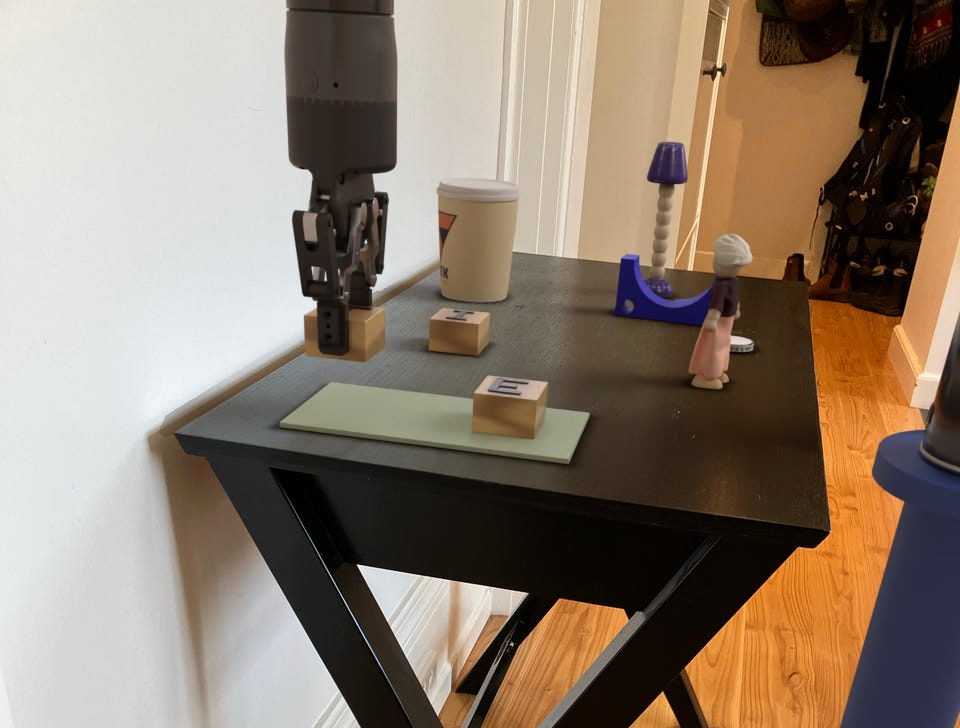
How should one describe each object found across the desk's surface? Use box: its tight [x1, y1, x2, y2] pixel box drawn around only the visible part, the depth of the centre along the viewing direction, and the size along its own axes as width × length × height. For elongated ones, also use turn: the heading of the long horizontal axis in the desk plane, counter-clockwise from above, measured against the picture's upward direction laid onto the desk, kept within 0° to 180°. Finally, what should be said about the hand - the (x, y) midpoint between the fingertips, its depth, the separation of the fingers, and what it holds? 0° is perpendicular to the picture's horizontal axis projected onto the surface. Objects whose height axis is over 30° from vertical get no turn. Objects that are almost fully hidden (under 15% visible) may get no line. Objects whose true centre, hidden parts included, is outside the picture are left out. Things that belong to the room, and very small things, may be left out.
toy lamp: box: [643, 141, 689, 299], centre depth 118 cm, size 5×5×17 cm
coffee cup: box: [436, 177, 522, 304], centre depth 114 cm, size 9×9×12 cm
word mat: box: [279, 381, 591, 465], centre depth 78 cm, size 22×11×1 cm, turn 77°
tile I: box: [428, 307, 491, 357], centre depth 97 cm, size 5×5×3 cm
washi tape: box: [730, 335, 755, 353], centre depth 102 cm, size 4×4×1 cm
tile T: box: [303, 304, 386, 364], centre depth 76 cm, size 5×5×3 cm
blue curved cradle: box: [614, 253, 718, 327], centre depth 111 cm, size 12×4×6 cm, turn 72°
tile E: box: [472, 374, 549, 439], centre depth 76 cm, size 5×5×3 cm
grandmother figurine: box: [688, 233, 753, 390], centre depth 87 cm, size 8×4×13 cm, turn 162°
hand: (346, 344), depth 77 cm, fingers closed on tile T, 4 cm apart
